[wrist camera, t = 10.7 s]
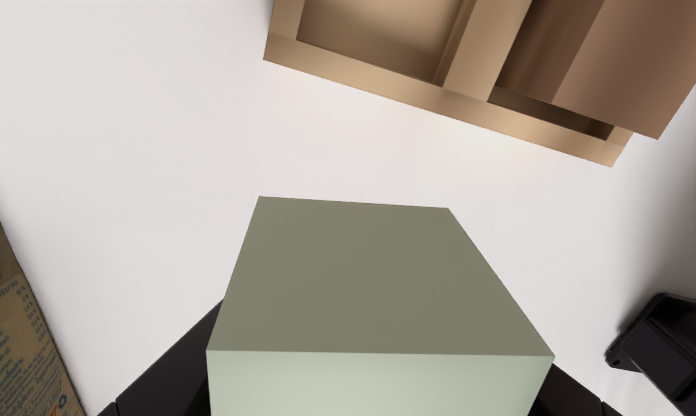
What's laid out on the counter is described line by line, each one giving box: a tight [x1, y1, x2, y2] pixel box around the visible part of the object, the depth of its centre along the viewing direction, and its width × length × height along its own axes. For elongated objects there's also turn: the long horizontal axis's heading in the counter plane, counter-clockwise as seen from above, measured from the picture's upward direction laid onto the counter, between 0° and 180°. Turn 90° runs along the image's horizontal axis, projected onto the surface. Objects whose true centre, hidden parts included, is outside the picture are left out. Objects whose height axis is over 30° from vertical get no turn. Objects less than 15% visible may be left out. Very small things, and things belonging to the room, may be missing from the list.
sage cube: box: [206, 196, 555, 416], centre depth 8 cm, size 4×4×4 cm
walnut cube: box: [494, 0, 696, 140], centre depth 14 cm, size 4×4×4 cm
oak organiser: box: [263, 0, 634, 167], centre depth 15 cm, size 16×8×3 cm, turn 73°
